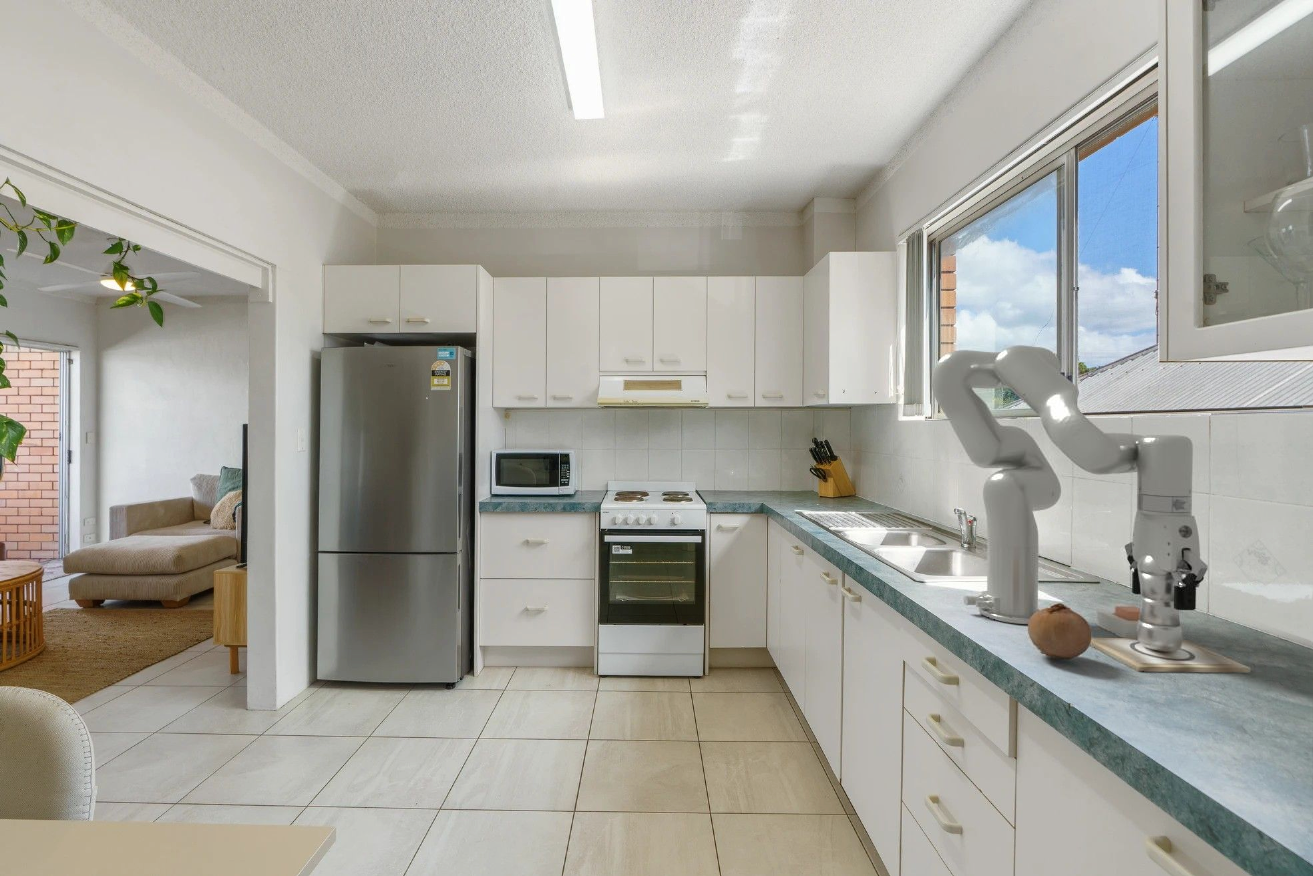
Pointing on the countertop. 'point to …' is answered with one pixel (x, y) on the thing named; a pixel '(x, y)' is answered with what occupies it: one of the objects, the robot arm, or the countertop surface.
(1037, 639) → the onion
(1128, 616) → the button
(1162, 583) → the plastic bottle
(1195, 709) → the countertop surface
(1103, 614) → the button housing
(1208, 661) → the board
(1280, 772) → the countertop surface
